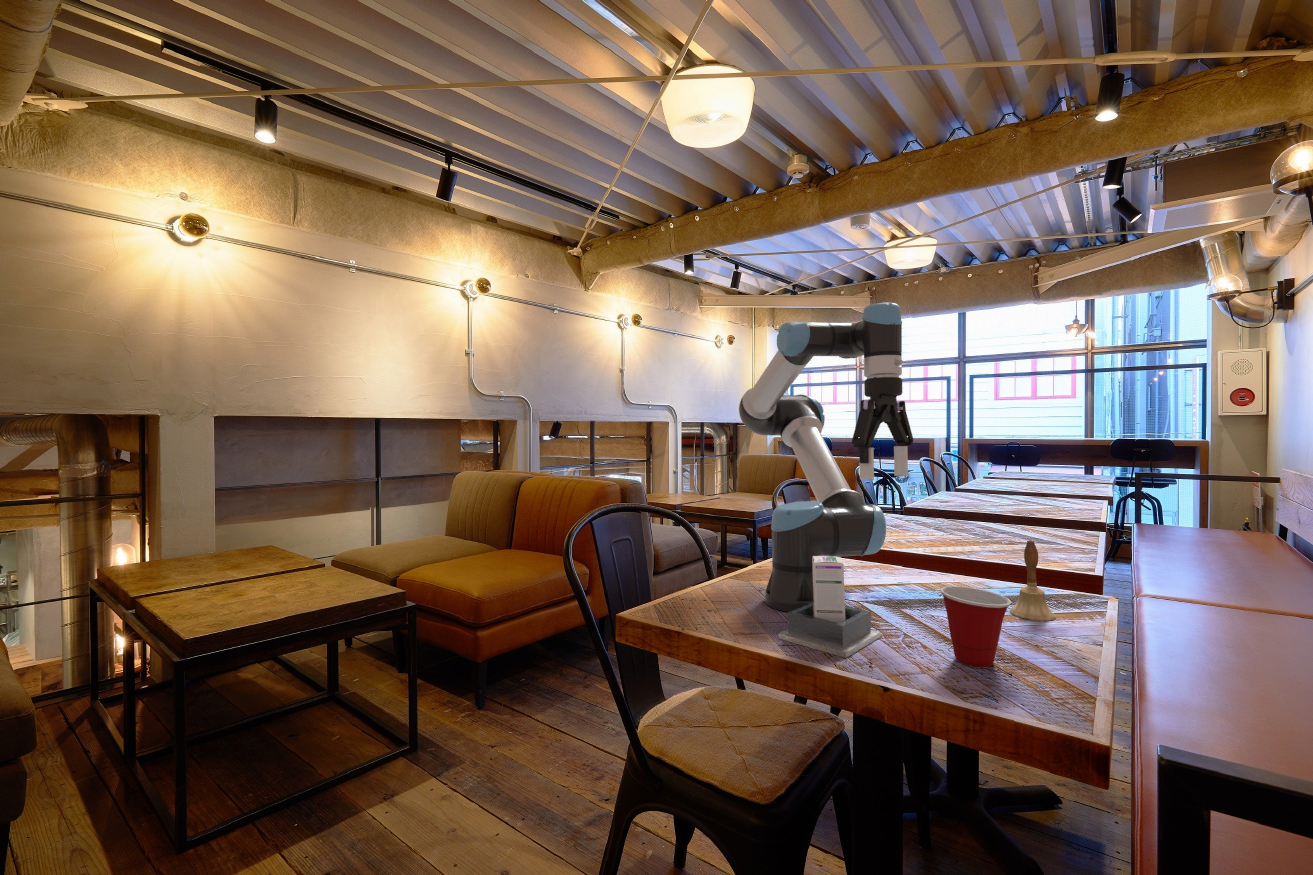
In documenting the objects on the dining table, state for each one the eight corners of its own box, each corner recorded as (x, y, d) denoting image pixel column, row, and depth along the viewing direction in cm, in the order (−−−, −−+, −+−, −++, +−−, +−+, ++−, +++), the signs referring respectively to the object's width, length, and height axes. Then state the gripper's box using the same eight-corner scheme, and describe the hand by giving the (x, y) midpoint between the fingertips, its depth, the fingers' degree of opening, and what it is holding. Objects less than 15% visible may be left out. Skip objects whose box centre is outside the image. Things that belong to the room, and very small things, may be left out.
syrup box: (846, 639, 108) (845, 562, 108) (813, 637, 110) (813, 561, 109) (843, 628, 114) (842, 555, 114) (812, 626, 115) (811, 554, 115)
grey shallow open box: (778, 638, 112) (778, 612, 112) (815, 620, 122) (815, 597, 122) (846, 657, 102) (845, 629, 102) (880, 637, 112) (880, 611, 112)
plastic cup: (1023, 676, 94) (1023, 603, 93) (952, 673, 95) (952, 601, 95) (995, 651, 104) (995, 585, 104) (932, 648, 106) (931, 583, 106)
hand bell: (1039, 623, 118) (1039, 546, 118) (1001, 612, 126) (1000, 539, 126) (1064, 617, 122) (1064, 542, 122) (1025, 606, 129) (1025, 536, 129)
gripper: (866, 372, 111) (868, 482, 111) (929, 379, 127) (930, 475, 127) (833, 376, 117) (834, 480, 117) (896, 381, 133) (898, 473, 133)
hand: (884, 477), depth 122 cm, fingers open, 13 cm apart
